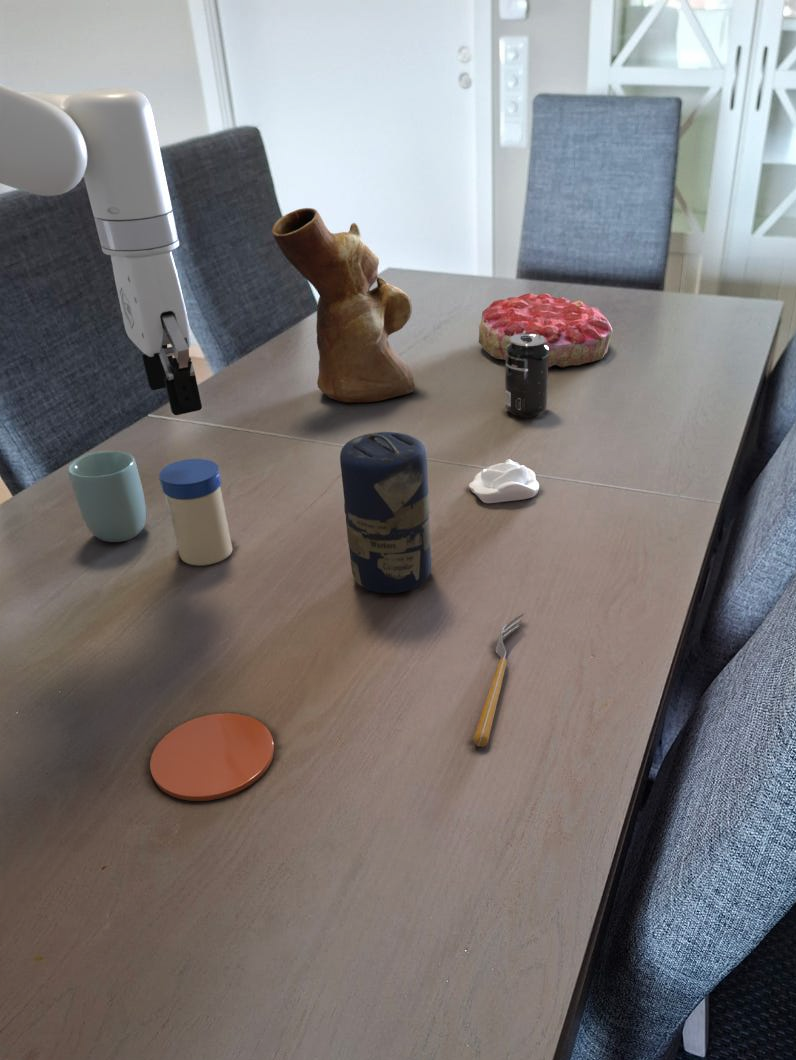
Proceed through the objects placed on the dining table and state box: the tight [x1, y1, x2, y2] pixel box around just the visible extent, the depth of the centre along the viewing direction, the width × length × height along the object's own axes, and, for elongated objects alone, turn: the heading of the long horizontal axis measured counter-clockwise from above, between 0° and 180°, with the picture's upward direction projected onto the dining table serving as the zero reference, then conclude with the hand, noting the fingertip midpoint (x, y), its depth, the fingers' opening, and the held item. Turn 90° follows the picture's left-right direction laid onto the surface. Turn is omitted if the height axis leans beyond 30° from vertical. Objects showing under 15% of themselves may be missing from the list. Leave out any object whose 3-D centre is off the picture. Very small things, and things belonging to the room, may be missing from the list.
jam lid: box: [158, 458, 222, 499], centre depth 106 cm, size 7×7×2 cm
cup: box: [67, 450, 147, 543], centre depth 113 cm, size 8×8×10 cm
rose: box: [468, 458, 540, 504], centre depth 124 cm, size 10×4×10 cm
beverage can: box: [504, 333, 549, 418], centre depth 145 cm, size 7×7×12 cm
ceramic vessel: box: [271, 207, 416, 403], centre depth 146 cm, size 16×22×30 cm
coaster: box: [149, 712, 275, 802], centre depth 82 cm, size 11×11×1 cm
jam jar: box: [164, 486, 233, 566], centre depth 109 cm, size 6×6×11 cm
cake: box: [478, 292, 614, 368], centre depth 171 cm, size 25×25×8 cm
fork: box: [473, 613, 524, 748], centre depth 91 cm, size 2×2×20 cm
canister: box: [339, 431, 432, 594], centre depth 102 cm, size 10×10×18 cm
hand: (175, 398), depth 101 cm, fingers open, 8 cm apart
